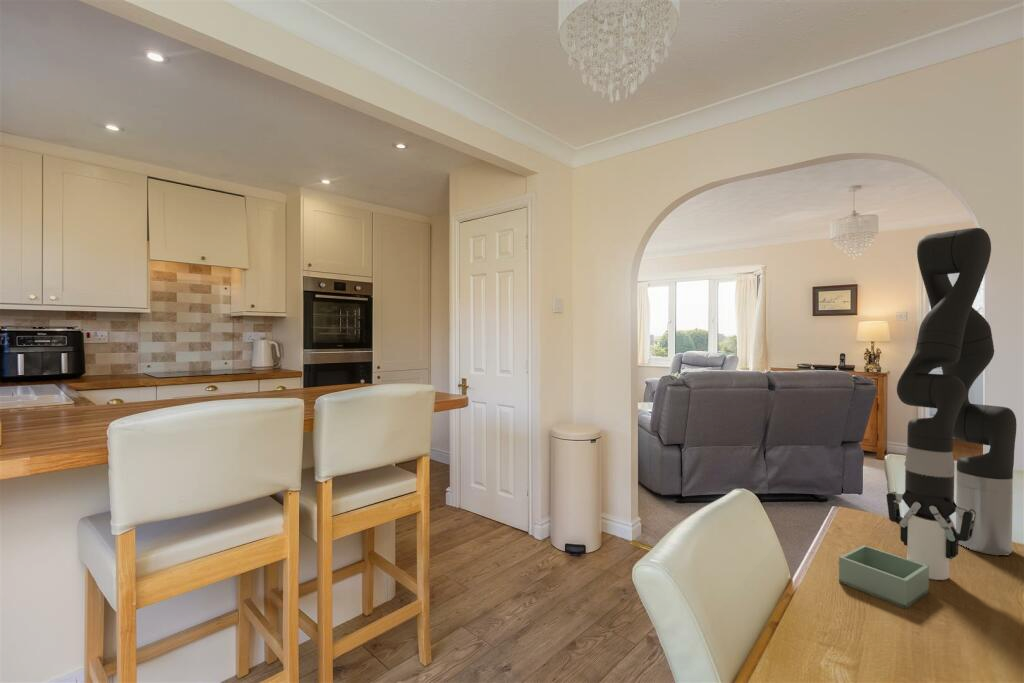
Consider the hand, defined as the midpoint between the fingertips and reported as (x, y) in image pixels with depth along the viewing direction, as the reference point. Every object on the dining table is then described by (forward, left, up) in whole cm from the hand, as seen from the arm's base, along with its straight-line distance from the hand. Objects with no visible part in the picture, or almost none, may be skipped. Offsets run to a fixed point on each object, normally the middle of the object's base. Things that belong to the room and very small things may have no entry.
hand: (928, 550), depth 96 cm
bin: (+14, -3, -5) cm, 15 cm away
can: (0, 0, -5) cm, 5 cm away
